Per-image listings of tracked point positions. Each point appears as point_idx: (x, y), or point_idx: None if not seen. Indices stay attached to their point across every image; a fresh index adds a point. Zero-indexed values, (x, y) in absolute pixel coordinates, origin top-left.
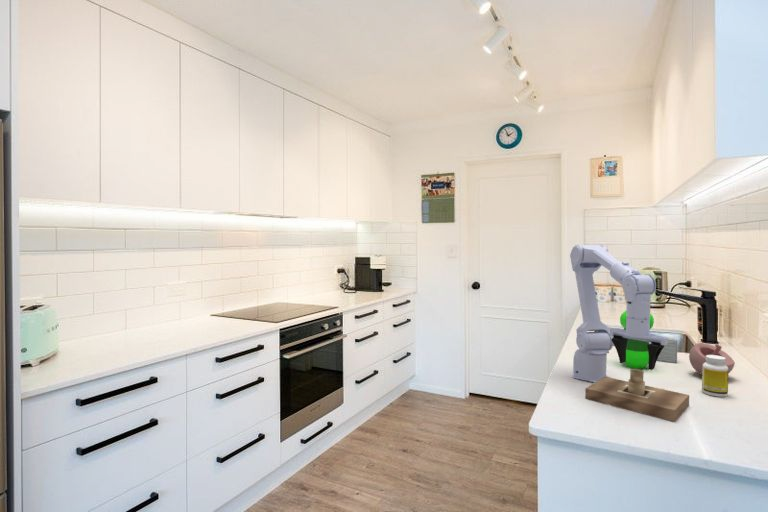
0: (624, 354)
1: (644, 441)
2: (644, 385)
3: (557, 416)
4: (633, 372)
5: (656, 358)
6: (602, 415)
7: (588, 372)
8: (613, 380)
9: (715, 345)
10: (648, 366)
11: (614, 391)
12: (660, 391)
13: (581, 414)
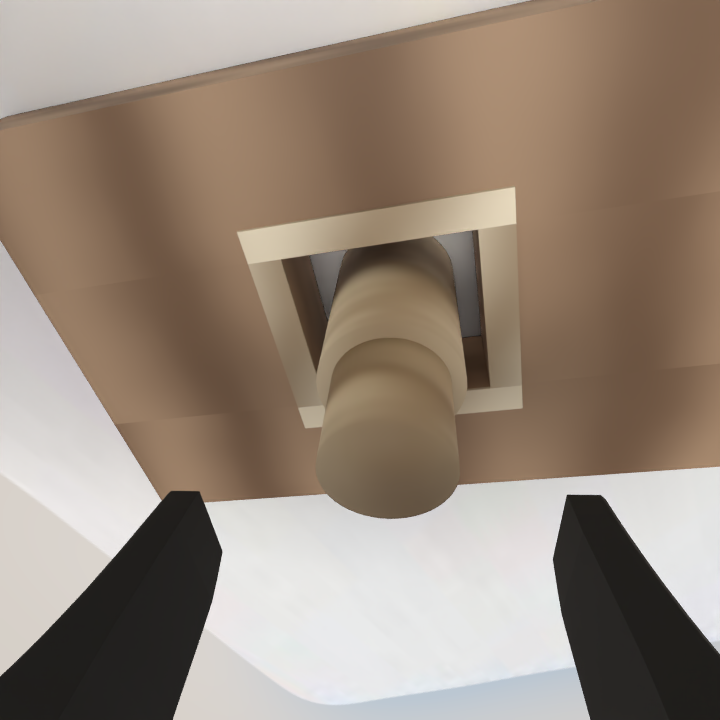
0: (157, 614)
1: None
2: (464, 363)
3: (290, 642)
4: (381, 509)
5: (691, 653)
6: (386, 555)
7: None
8: (83, 197)
9: None
10: (560, 603)
11: (297, 437)
12: (551, 132)
13: (326, 592)
